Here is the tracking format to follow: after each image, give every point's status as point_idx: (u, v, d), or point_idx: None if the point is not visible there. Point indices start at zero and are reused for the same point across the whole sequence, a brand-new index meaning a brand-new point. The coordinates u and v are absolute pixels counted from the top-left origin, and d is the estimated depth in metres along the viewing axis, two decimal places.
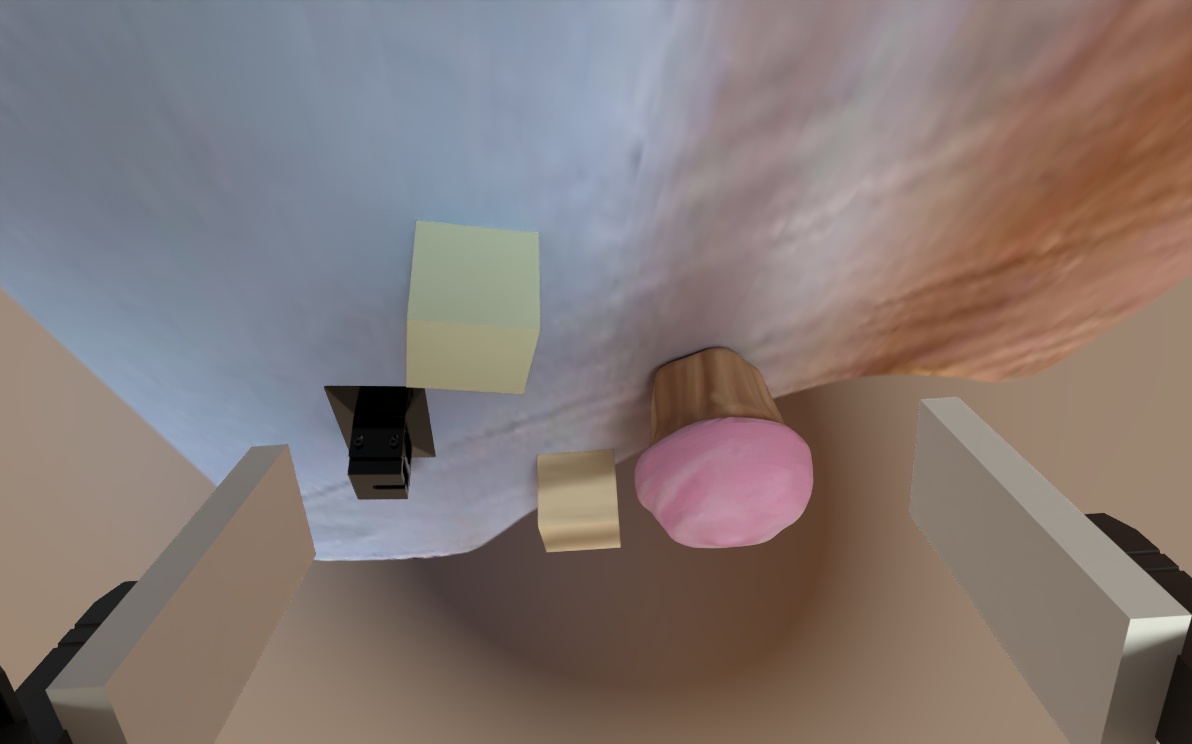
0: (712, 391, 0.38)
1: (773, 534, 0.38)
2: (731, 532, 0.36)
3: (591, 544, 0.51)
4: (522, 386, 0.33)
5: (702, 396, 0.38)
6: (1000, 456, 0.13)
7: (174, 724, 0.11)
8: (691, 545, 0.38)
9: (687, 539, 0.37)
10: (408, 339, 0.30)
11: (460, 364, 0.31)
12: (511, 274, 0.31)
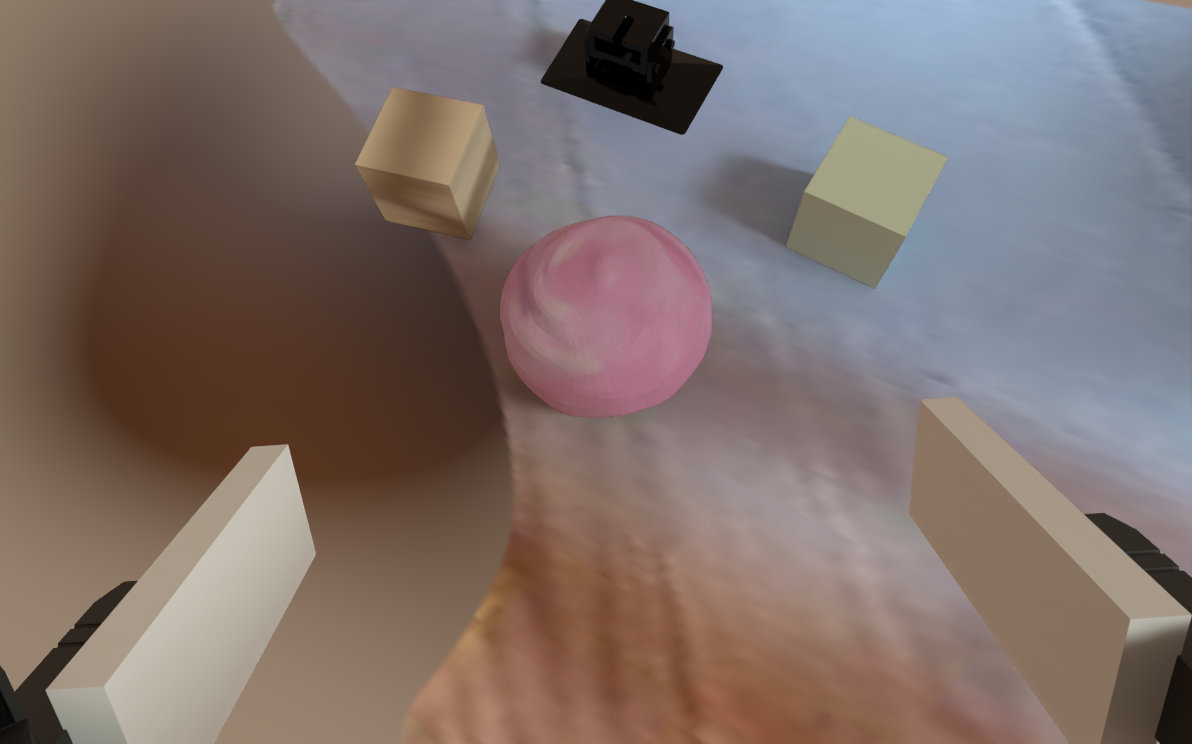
0: None
1: (570, 323, 0.29)
2: (627, 277, 0.29)
3: (385, 136, 0.39)
4: (818, 195, 0.36)
5: None
6: (1000, 456, 0.13)
7: (174, 724, 0.11)
8: (581, 230, 0.31)
9: (612, 230, 0.30)
10: (920, 146, 0.37)
11: (871, 165, 0.36)
12: None
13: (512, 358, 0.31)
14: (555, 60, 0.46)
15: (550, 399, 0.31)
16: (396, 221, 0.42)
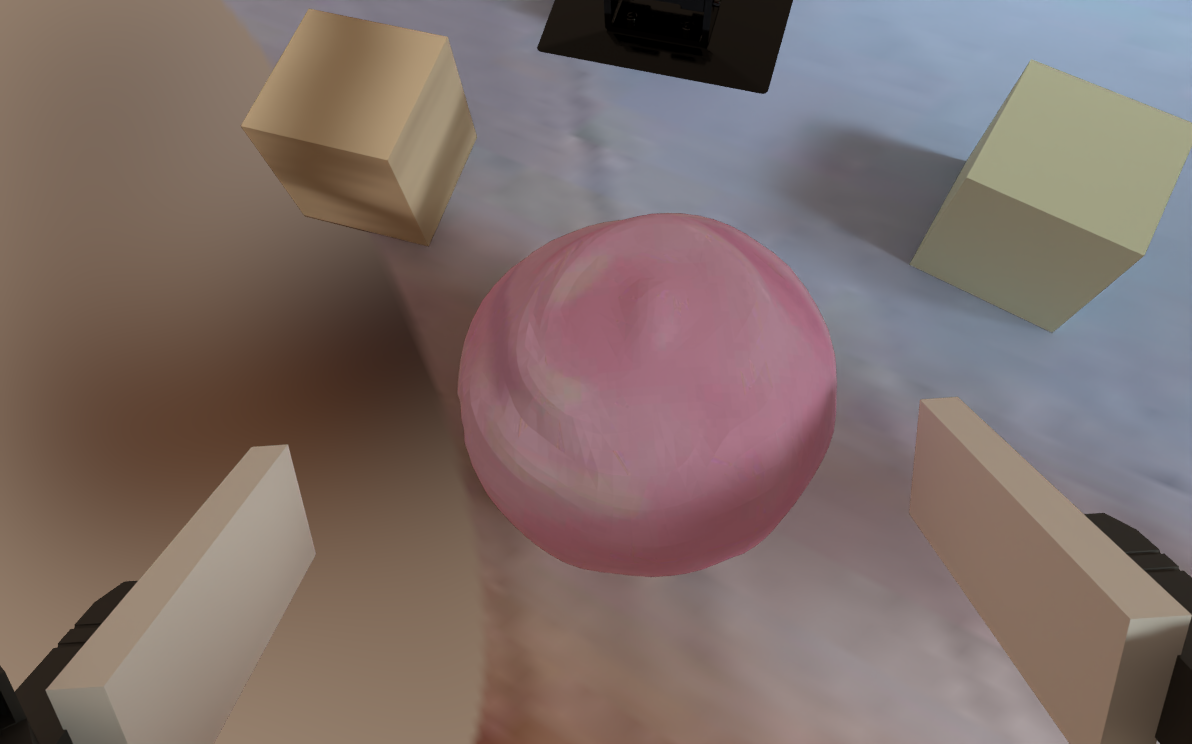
0: None
1: (586, 418, 0.15)
2: (694, 331, 0.15)
3: (291, 84, 0.24)
4: (990, 184, 0.22)
5: None
6: (1000, 456, 0.13)
7: (174, 724, 0.11)
8: (607, 239, 0.17)
9: (664, 240, 0.16)
10: (1152, 109, 0.23)
11: (1073, 136, 0.22)
12: None
13: (477, 470, 0.17)
14: (552, 16, 0.32)
15: (545, 546, 0.17)
16: (319, 216, 0.28)
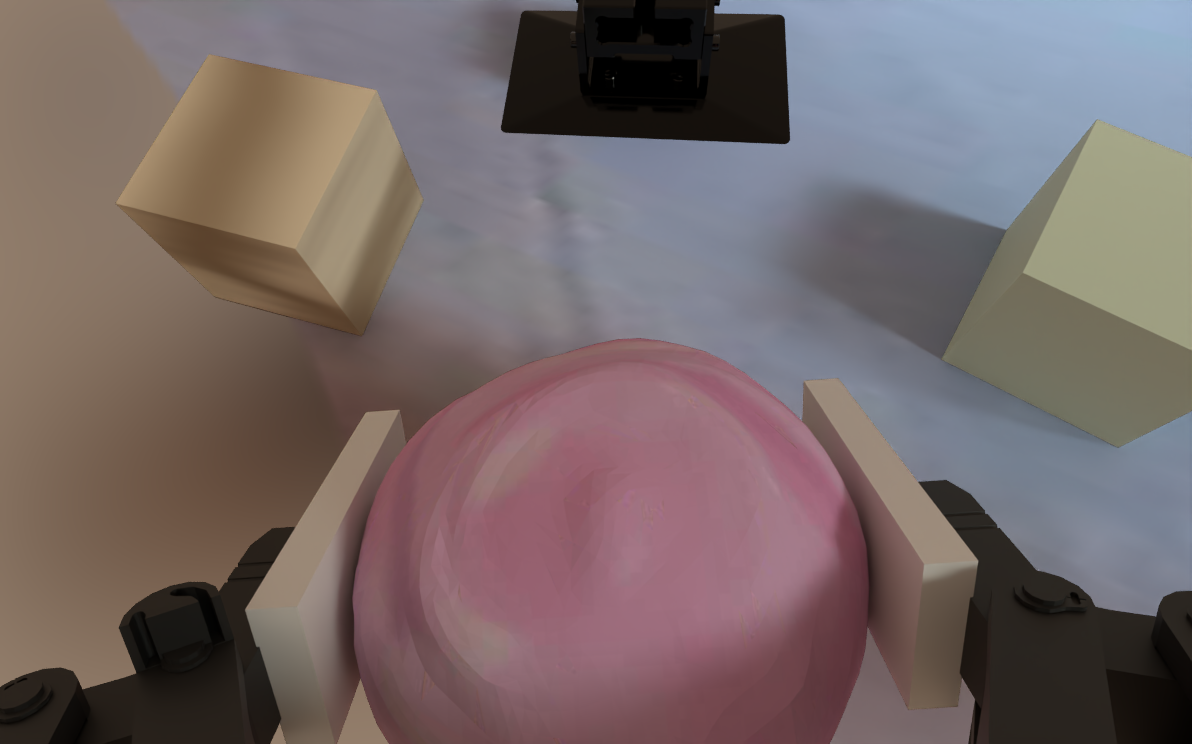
0: None
1: (515, 688, 0.10)
2: (672, 553, 0.11)
3: (182, 149, 0.20)
4: (1053, 281, 0.17)
5: None
6: (858, 429, 0.15)
7: (338, 650, 0.12)
8: (551, 403, 0.12)
9: (631, 405, 0.12)
10: None
11: (1155, 220, 0.18)
12: None
13: None
14: (511, 87, 0.26)
15: None
16: (232, 298, 0.23)
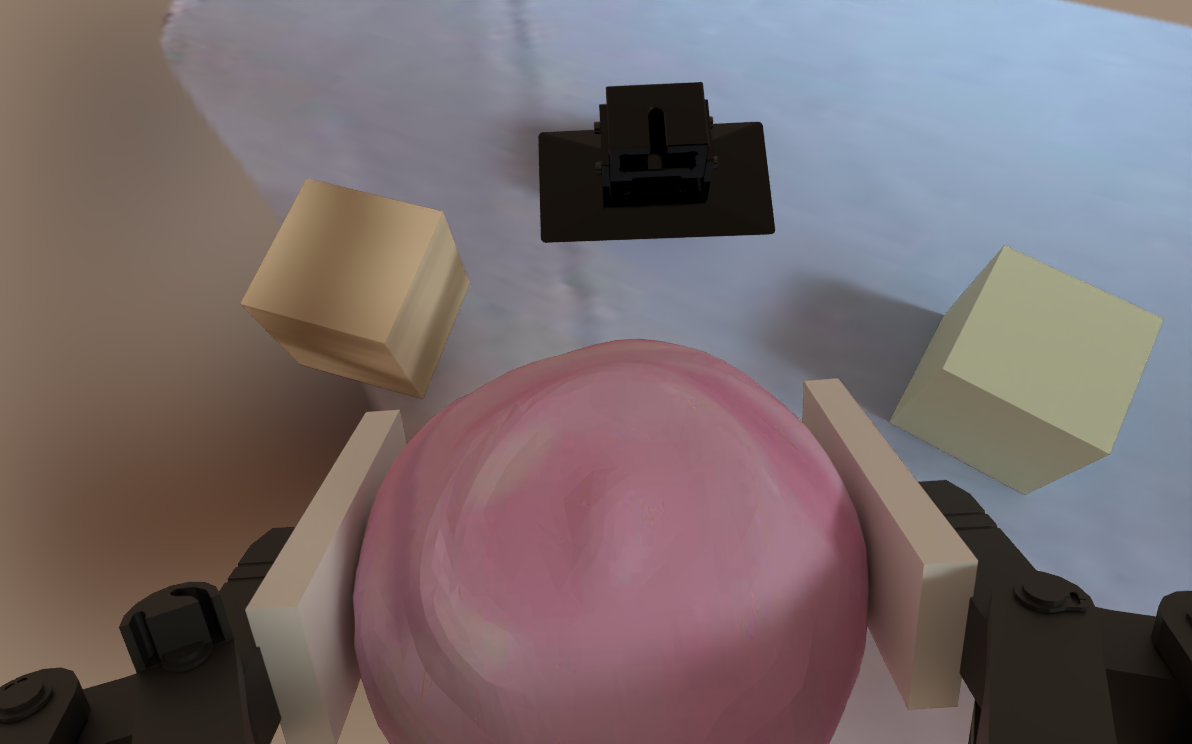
0: None
1: (515, 688, 0.10)
2: (672, 553, 0.11)
3: (290, 259, 0.25)
4: (965, 376, 0.23)
5: None
6: (858, 429, 0.15)
7: (339, 649, 0.12)
8: (551, 404, 0.12)
9: (630, 406, 0.12)
10: (1118, 300, 0.24)
11: (1044, 328, 0.23)
12: None
13: (375, 718, 0.12)
14: (543, 202, 0.31)
15: None
16: (315, 367, 0.29)
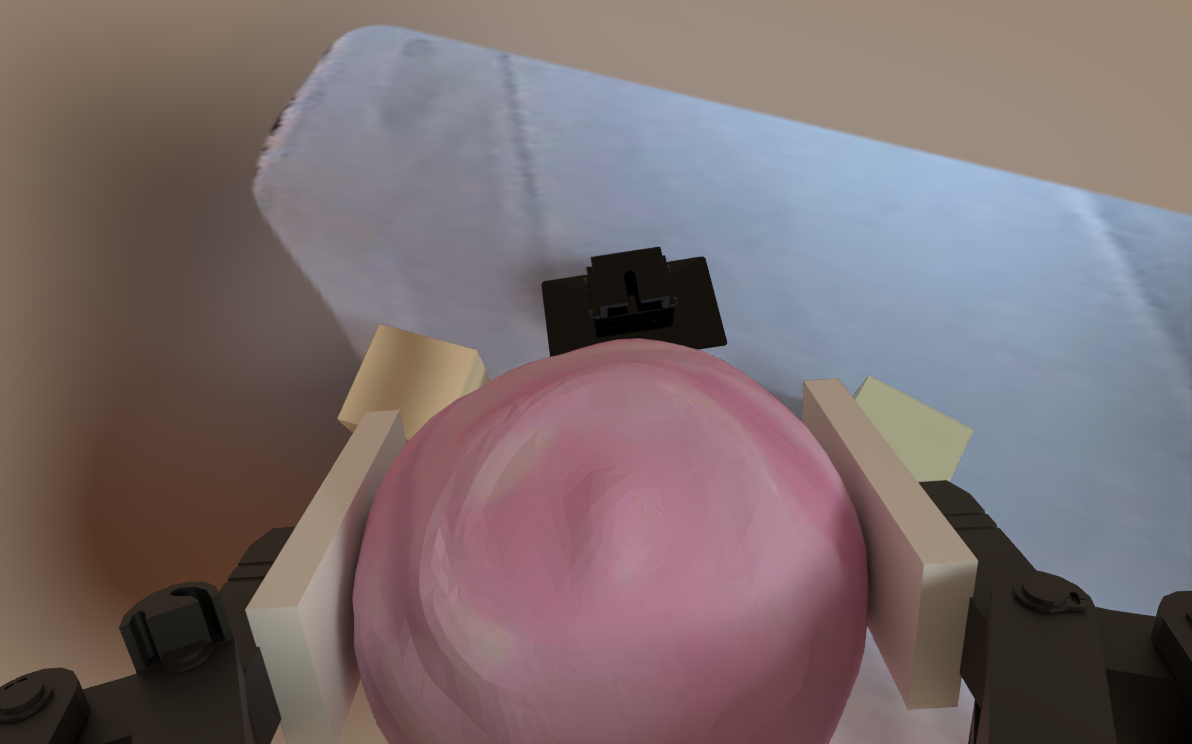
0: None
1: (514, 688, 0.10)
2: (672, 553, 0.11)
3: (370, 385, 0.36)
4: None
5: None
6: (858, 429, 0.15)
7: (338, 649, 0.12)
8: (550, 404, 0.12)
9: (630, 405, 0.12)
10: (944, 416, 0.34)
11: (891, 436, 0.34)
12: None
13: None
14: (550, 337, 0.42)
15: None
16: None
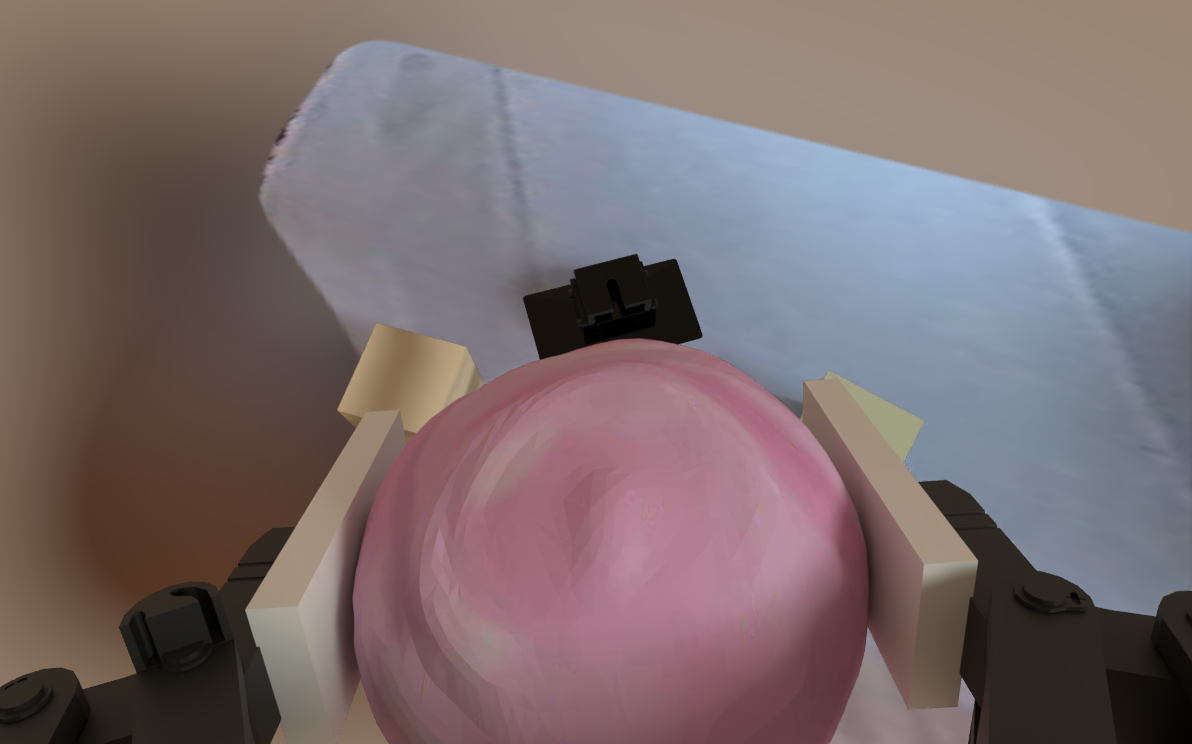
0: None
1: (515, 688, 0.10)
2: (672, 553, 0.11)
3: (368, 379, 0.39)
4: None
5: None
6: (858, 429, 0.15)
7: (338, 650, 0.12)
8: (551, 404, 0.12)
9: (630, 406, 0.12)
10: (897, 408, 0.37)
11: None
12: None
13: None
14: (542, 348, 0.44)
15: None
16: None
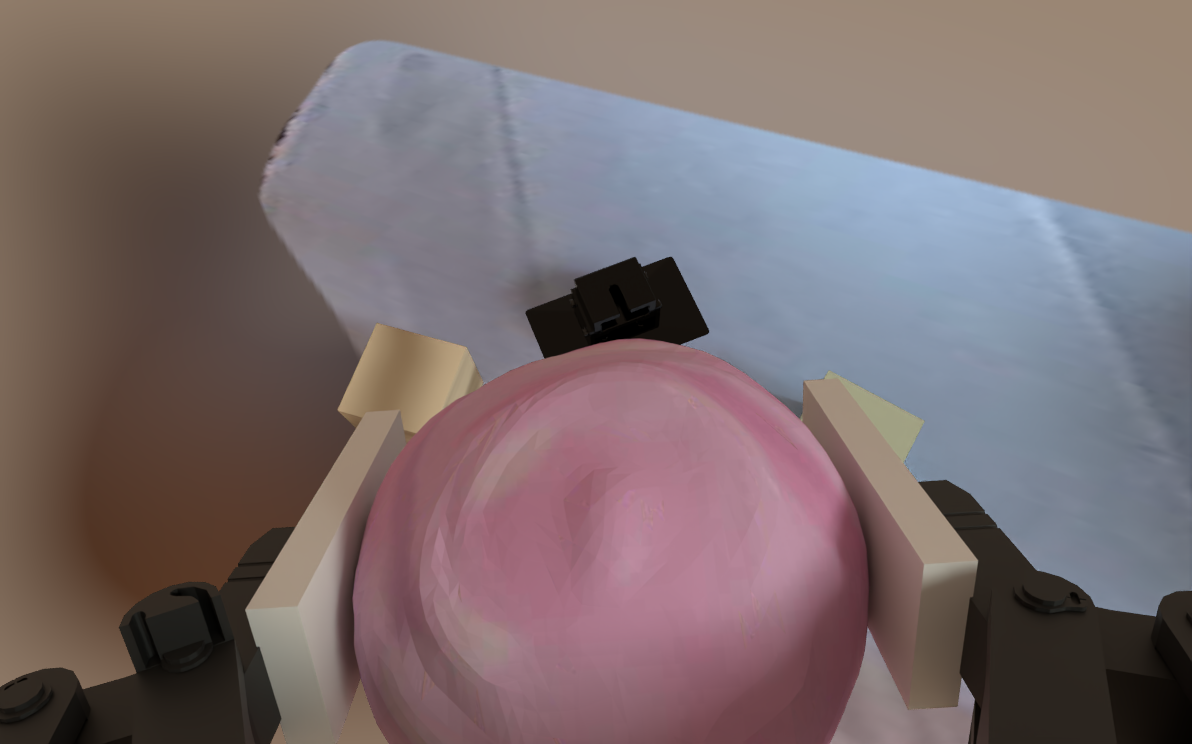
0: None
1: (515, 688, 0.10)
2: (672, 553, 0.11)
3: (368, 379, 0.39)
4: None
5: None
6: (858, 429, 0.15)
7: (338, 650, 0.12)
8: (551, 404, 0.12)
9: (630, 406, 0.12)
10: (897, 408, 0.37)
11: None
12: None
13: None
14: None
15: None
16: None
